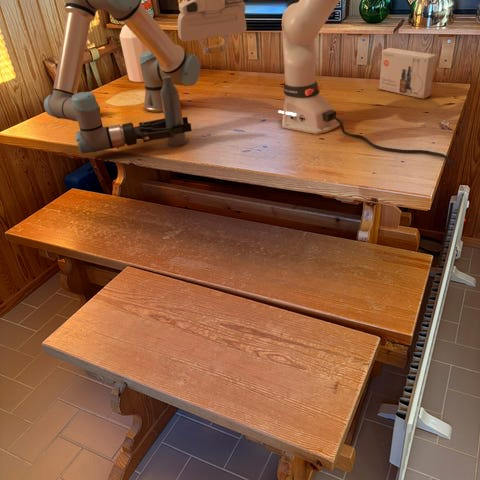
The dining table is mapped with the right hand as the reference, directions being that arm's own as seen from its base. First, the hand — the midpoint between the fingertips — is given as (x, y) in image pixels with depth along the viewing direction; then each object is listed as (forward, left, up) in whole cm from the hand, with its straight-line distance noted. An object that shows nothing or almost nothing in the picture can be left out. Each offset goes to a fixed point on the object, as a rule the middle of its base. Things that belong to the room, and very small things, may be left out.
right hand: (215, 52), depth 140 cm
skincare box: (-17, -82, -31) cm, 89 cm away
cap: (0, 0, +2) cm, 2 cm away
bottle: (+18, +7, -31) cm, 37 cm away
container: (+105, -36, -31) cm, 115 cm away
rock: (+75, +13, -31) cm, 82 cm away
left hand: (+16, +2, -25) cm, 30 cm away
